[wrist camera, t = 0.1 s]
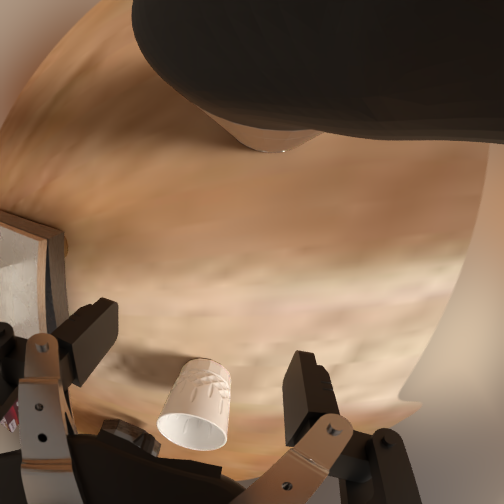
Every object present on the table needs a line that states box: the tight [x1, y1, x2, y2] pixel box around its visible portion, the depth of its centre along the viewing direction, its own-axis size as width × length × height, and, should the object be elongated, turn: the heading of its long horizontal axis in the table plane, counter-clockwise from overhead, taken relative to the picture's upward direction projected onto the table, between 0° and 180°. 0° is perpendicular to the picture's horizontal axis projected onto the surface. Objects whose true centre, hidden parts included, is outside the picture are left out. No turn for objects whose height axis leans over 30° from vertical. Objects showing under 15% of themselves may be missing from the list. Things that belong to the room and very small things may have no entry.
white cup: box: [157, 358, 231, 451], centre depth 29 cm, size 8×8×10 cm
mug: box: [101, 419, 161, 457], centre depth 34 cm, size 20×14×15 cm
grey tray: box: [0, 210, 69, 334], centre depth 29 cm, size 22×20×5 cm
